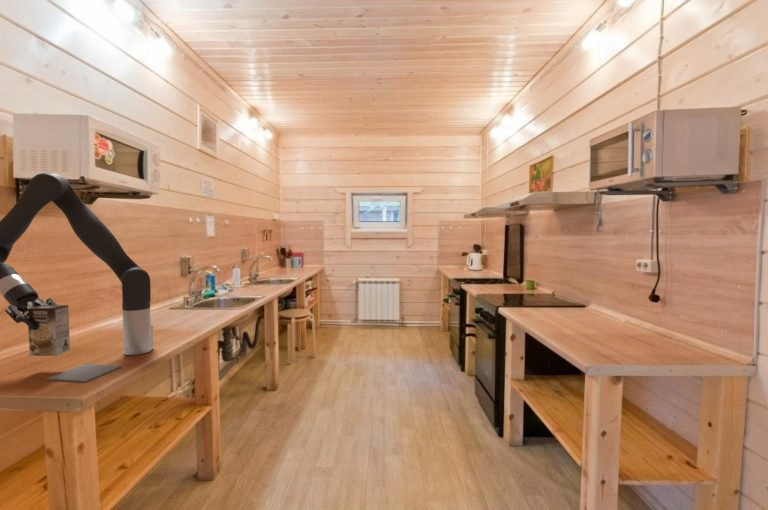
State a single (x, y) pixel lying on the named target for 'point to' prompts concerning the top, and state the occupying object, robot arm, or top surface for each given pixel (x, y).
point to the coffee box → (49, 330)
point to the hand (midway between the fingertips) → (48, 325)
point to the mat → (84, 373)
